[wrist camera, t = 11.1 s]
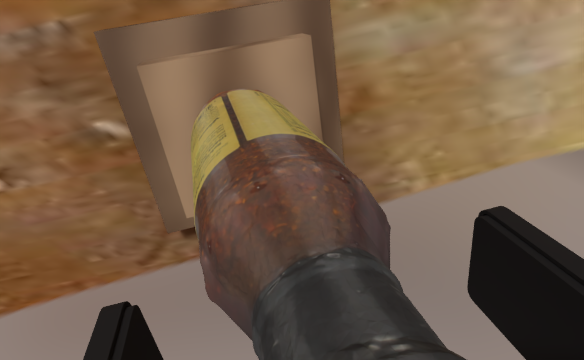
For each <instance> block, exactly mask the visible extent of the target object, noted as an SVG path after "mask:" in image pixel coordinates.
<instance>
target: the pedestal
mask: <svg viewBox="0 0 584 360" xmlns="http://www.w3.org/2000/svg"><path fill="white" fill-rule="evenodd" d="M94 34H95V37H96V39H97V42H98V45H99V48H100V50H101V53H102V56H103V59H104V61H105V64H106V67H107V69H108V72H109V75H110V78H111V80H112V83H113V86H114V88H115V91H116V94H117V97H118V99H119V102H120V105H121V107H122V110H123V113H124V116H125V118H126V121H127V124H128V126H129V129H130V132H131V135H132V137H133V140H134V143H135V145H136V148H137V151H138V154H139V156H140V159H141V162H142V164H143V167H144V170H145V173H146V175H147V178H148V181H149V183H150V186H151V189H152V192H153V194H154V197H155V200H156V202H157V205H158V208H159V211H160V213H161V216H162V219H163V221H164V224H165V227H166V230H167V232H168V233H172V232H176V231H180V230H184V229H188V228H192V227H195V223H194V203H193V178H192V162H191V134H192V129H193V125H194V121H195V120H196V118H197V116H198V115H199V113H200V111H201V110H202V108H203V106H204V105H205V104H206V103H207V102H208V101H209V100H210V99H211V98H213V97H214V96H215V95H217V94H218V93H221V92H224V91H230V90H236V89H249V90H259V91H261V92H263V93H265V94H267V95H269V96H271V97H273V98H274V99H276V100H277V101H279V102H280V103H281V104H282V105H284V106H285V107H286V108H287V109H288V110H289V111H290V112H291V113H292V114H293V115H294V116H295V117H296V118H297V119H299V120H300V121H301V122H302V123H303V124H304V125H305V126H306V127H307V128H308V129H309V130H310V131H312V132H313V133H314V134H315V135H316V136H317V137H318V138H319V139H320V140H321V141H323V142H324V143H325V144H326V145H327V146H328V147H329V148H330V149H331V150H332V151H333V152H335V153H336V154H337V155H338V157H339V158H340V159H341V160H342V162H343V163H344V161H343V149H342V138H341V126H340V114H339V102H338V91H337V79H336V67H335V55H334V44H333V32H332V20H331V9H330V0H282V1H276V2H270V3H264V4H258V5H252V6H246V7H240V8H234V9H228V10H221V11H215V12H209V13H203V14H197V15H191V16H185V17H179V18H173V19H167V20H160V21H154V22H148V23H142V24H136V25H130V26H124V27H118V28H112V29H105V30H101V31H96V32H94Z"/></svg>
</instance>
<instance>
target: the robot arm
mask: <svg viewBox="0 0 584 360" xmlns="http://www.w3.org/2000/svg"><path fill="white" fill-rule="evenodd" d="M468 293H469V295H470V297H471V299H472V300H473V301H474V303H475V304H476V305H477V306H478V307H479V308H480V309H481V310H482V311H483V313H484V314H485V315H486V316H487V317H488V318H489V319H490V320H491V321H492V322H493V324H494V325H495V326H496V327H497V328H498V329H499V330H500V331H501V332H502V333H503V335H504V336H505V337H506V338H507V339H508V340H509V341H510V342H511V344H512V345H513V346H514V347H515V348H516V349H517V350H518V351H519V352H520V353H521V355H522V356H523V357H524V358H525V359H526V360H584V259H583V258H581V257H579V256H578V255H577V254H575V253H574V252H572V251H570V250H569V249H568V248H566V247H565V246H563V245H562V244H560V243H558V242H557V241H556V240H554V239H553V238H551V237H550V236H548V235H547V234H545V233H544V232H542V231H541V230H539V229H538V228H536V227H535V226H533V225H532V224H530V223H529V222H527V221H526V220H524V219H523V218H521V217H520V216H518V215H517V214H515V213H514V212H512V211H511V210H509V209H508V208H506V207H504V206H498V207H494V208H491V209H487V210H483V211H481V212H480V213H479V216H478V217H477V218H476V219H475V222H474V231H473V240H472V250H471V259H470V268H469V278H468ZM83 360H163V358H162V355H161V353H160V351H159V349H158V347H157V345H156V343H155V340H154V338H153V336H152V334H151V332H150V330H149V328H148V325H147V323H146V321H145V319H144V317H143V315H142V313H141V310H140V308H139V307H138V306H137V305H134V306H131V304H130V303H129V302H127V301H126V302H122V303H118V304H114V305H110V306H106V307H103V308H102V309H101V311H100V313H99V316H98V319H97V322H96V325H95V328H94V331H93V333H92V336H91V339H90V342H89V345H88V347H87V350H86V353H85V356H84V359H83Z"/></svg>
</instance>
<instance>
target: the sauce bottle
mask: <svg viewBox="0 0 584 360" xmlns="http://www.w3.org/2000/svg"><path fill="white" fill-rule="evenodd" d="M191 162H192V178H193V203H194V223H195V230H196V234H197V237H198V241H199V249H200V263H201V266H202V269H203V274H204V280H205V288H206V292H207V294H208V297H209V298H210V300H211V301H212V302H214V303H216V304H217V305H218V306H219V307H220V308H221V309H222V310H223V311H224V312H225V313H226V314H227V315H228V316H229V317H230V318H231V319H232V320H233V321H234V322H235V323H236V324H237V325H238V326H239V327H240V328H241V329H242V330H243V332H245V333H246V335H247V336H248V337H249V338H250V339H251V340H252V341H253V346H254V350H255V353H256V355H257V356H258V358H259V360H466V359H464V358H463V357H461V356H460V355H458V354H456V353H454V352H452V351H450V350H448V349H447V348H446V347H445V345H444V344H443V343H442V342H441V340H440V339H439V338H438V336H437V335H436V334H435V332H434V331H433V330H432V329H431V328H430V326H429V325H428V324H427V323H426V321H425V320H424V318H423V317H422V316H421V314H420V313H419V312H418V311H417V309H416V308H415V307H414V306H413V304H412V303H411V301H410V300H409V299H408V297H406V296H405V294H404V293H403V289H402V287H401V285H400V282H399V281H398V279H397V277H396V276H395V275H394V274H393V273H392V272H391V270H390V225H389V223H388V221H387V218H386V215H385V213H384V212H383V210H382V209H381V207H380V206H379V204H378V203H377V202H376V200H375V199H374V197H373V196H372V195H371V193H370V192H369V190H368V188H367V187H366V186H365V184H364V183H363V181H362V180H361V179H359V178H358V177H357V176H356V175H354V174H353V173H352V172H351V171H350V170H349V169H348V168H347V167H346V166H345V164H344V163H343V162H342V160H341V159H340V158H339V157H338V155H337V154H336V153H335V152H333V151H332V150H331V149H330V148H329V147H328V146H327V145H326V144H325V143H324V142H323V141H321V140H320V139H319V138H318V137H317V136H316V135H315V134H314V133H313V132H312V131H310V130H309V129H308V128H307V127H306V126H305V125H304V124H303V123H302V122H301V121H300V120H299V119H297V118H296V117H295V116H294V115H293V114H292V113H291V112H290V111H289V110H288V109H287V108H286V107H285V106H284V105H282V104H281V103H280V102H279V101H277V100H276V99H274V98H273V97H271V96H269V95H267V94H265V93H263V92H261V91H259V90H249V89H236V90H230V91H224V92H221V93H218V94H217V95H215V96H214V97H213V98H211V99H210V100H209V101H208V102H207V103H206V104H205V105H204V106H203V108H202V110H201V111H200V113H199V115H198V116H197V118H196V120H195V121H194V125H193V129H192V134H191Z"/></svg>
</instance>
